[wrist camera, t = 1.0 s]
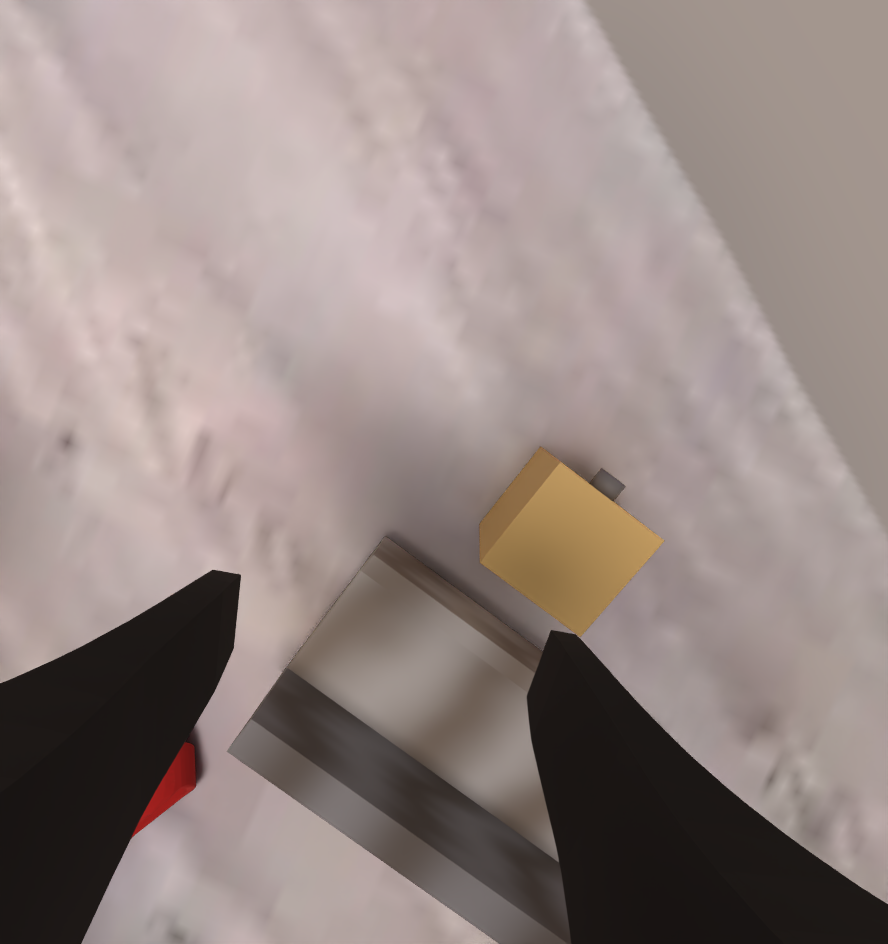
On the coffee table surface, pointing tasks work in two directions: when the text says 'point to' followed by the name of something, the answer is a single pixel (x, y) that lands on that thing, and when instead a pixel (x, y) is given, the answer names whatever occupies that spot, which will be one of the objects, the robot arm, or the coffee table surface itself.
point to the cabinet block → (564, 540)
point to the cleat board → (420, 746)
